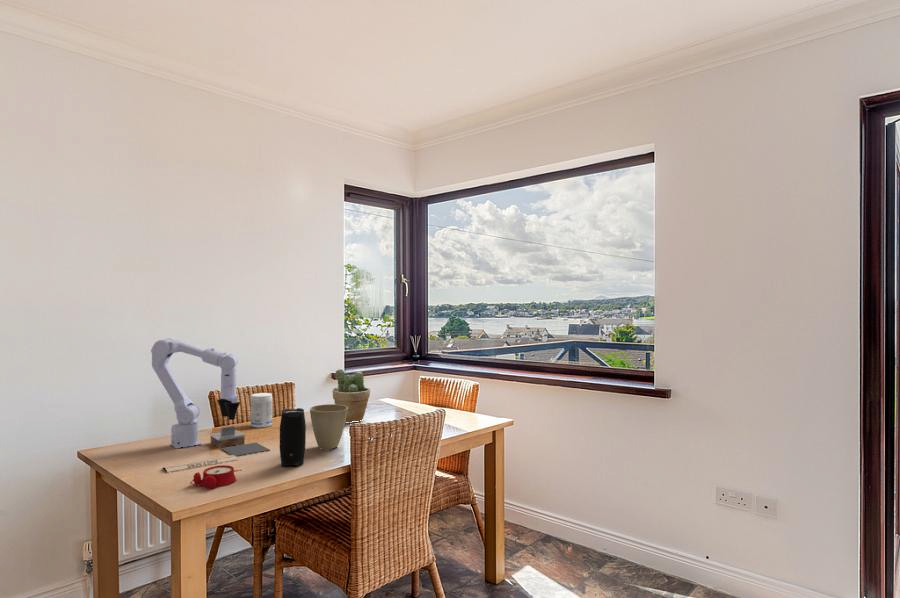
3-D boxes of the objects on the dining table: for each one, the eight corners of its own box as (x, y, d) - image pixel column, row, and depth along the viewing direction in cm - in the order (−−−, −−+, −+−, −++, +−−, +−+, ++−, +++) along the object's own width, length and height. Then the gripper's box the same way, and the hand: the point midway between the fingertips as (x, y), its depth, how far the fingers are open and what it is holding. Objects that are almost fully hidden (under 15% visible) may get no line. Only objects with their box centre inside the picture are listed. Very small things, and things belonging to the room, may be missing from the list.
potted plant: (371, 416, 275) (372, 367, 275) (368, 425, 257) (368, 372, 257) (335, 416, 274) (335, 367, 274) (329, 425, 256) (329, 372, 256)
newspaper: (231, 458, 203) (231, 453, 203) (238, 462, 198) (238, 457, 198) (162, 471, 188) (162, 465, 188) (168, 475, 182) (168, 470, 182)
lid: (218, 442, 214) (219, 431, 214) (210, 437, 222) (210, 426, 222) (245, 438, 221) (245, 427, 221) (235, 433, 229) (236, 422, 229)
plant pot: (304, 452, 210) (305, 411, 210) (315, 442, 225) (315, 403, 225) (342, 453, 210) (343, 411, 210) (350, 443, 224) (351, 404, 225)
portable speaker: (298, 469, 189) (298, 413, 189) (274, 466, 191) (274, 411, 191) (310, 461, 198) (310, 408, 198) (286, 459, 200) (287, 406, 200)
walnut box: (219, 448, 214) (219, 440, 214) (210, 443, 222) (211, 435, 222) (244, 443, 221) (244, 436, 221) (235, 439, 229) (235, 432, 229)
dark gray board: (233, 457, 202) (233, 456, 202) (220, 449, 213) (220, 448, 213) (269, 450, 212) (269, 449, 212) (256, 443, 222) (256, 442, 222)
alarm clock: (245, 468, 178) (207, 470, 165) (242, 488, 177) (203, 491, 164) (224, 463, 183) (185, 464, 170) (220, 482, 182) (181, 485, 169)
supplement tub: (267, 422, 260) (268, 392, 260) (275, 426, 253) (275, 394, 253) (247, 425, 254) (247, 394, 254) (254, 429, 246) (255, 396, 246)
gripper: (244, 386, 219) (244, 419, 219) (232, 381, 230) (231, 413, 230) (227, 387, 214) (226, 422, 214) (214, 383, 225) (214, 416, 225)
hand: (228, 418), depth 222 cm, fingers open, 7 cm apart
